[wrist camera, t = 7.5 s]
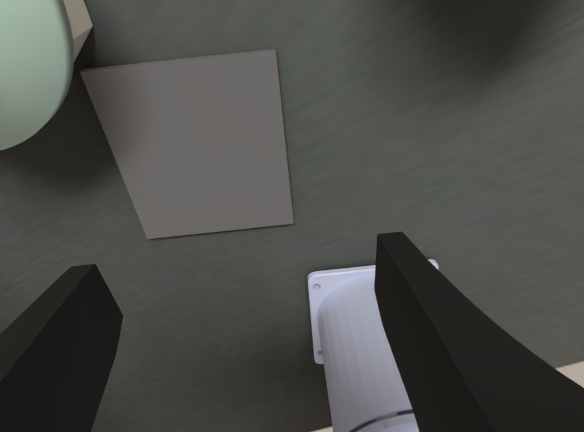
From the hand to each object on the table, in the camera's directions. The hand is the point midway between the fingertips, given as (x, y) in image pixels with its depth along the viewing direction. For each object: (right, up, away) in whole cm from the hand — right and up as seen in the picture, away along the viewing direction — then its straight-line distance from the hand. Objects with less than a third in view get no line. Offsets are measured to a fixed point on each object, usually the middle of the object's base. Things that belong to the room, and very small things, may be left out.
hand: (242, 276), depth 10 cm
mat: (-3, +5, +9) cm, 10 cm away
